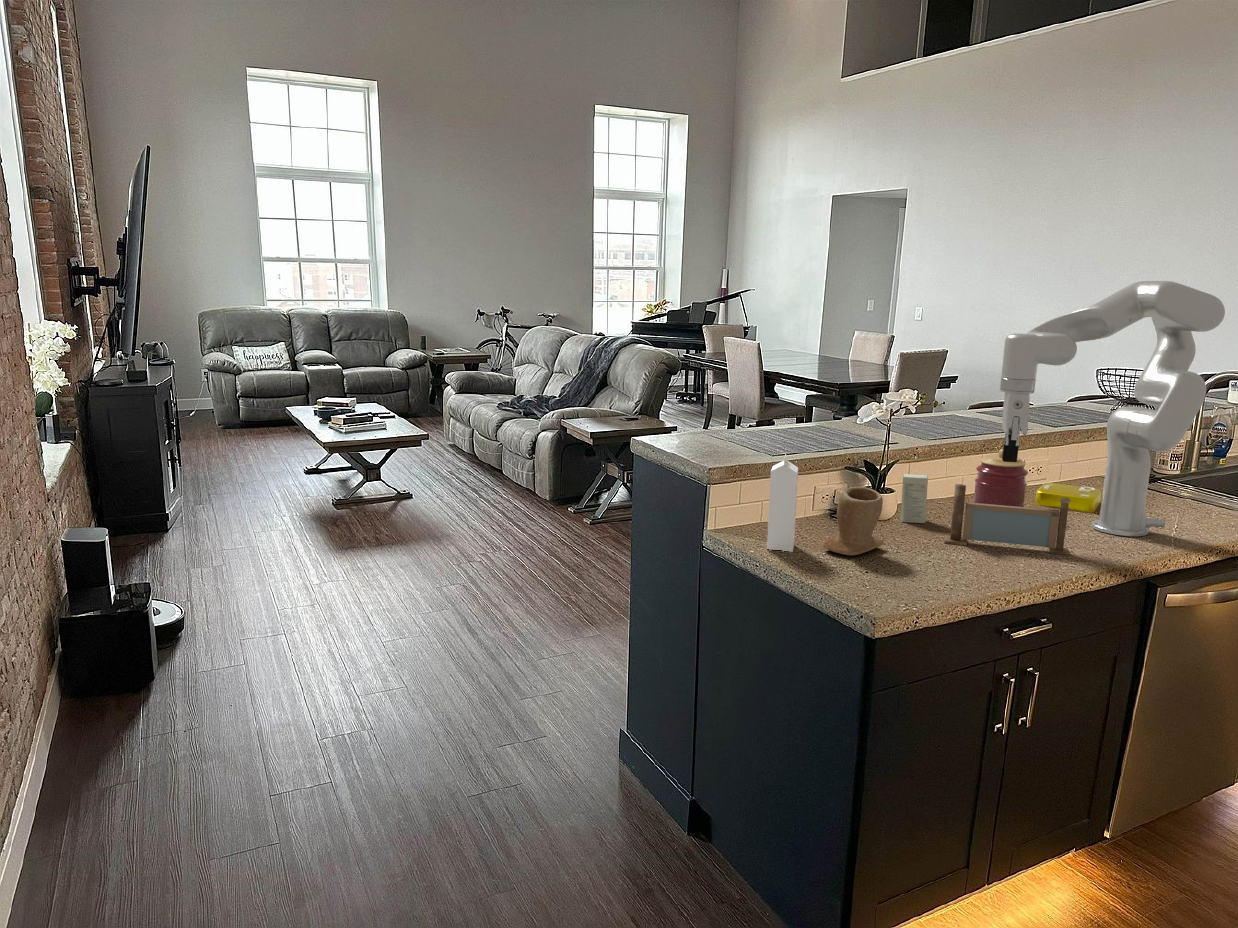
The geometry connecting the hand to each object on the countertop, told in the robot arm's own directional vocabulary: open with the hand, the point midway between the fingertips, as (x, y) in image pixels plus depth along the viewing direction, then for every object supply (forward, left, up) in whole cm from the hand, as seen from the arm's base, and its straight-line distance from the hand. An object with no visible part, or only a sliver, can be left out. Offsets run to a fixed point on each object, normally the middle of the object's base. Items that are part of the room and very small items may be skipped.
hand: (1009, 461), depth 206 cm
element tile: (-21, -43, -20) cm, 52 cm away
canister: (-1, -25, -19) cm, 32 cm away
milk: (+50, +29, -19) cm, 61 cm away
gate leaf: (-1, +9, -18) cm, 20 cm away
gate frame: (0, +9, -19) cm, 21 cm away
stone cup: (+33, +25, -19) cm, 46 cm away
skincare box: (+21, -7, -19) cm, 29 cm away
